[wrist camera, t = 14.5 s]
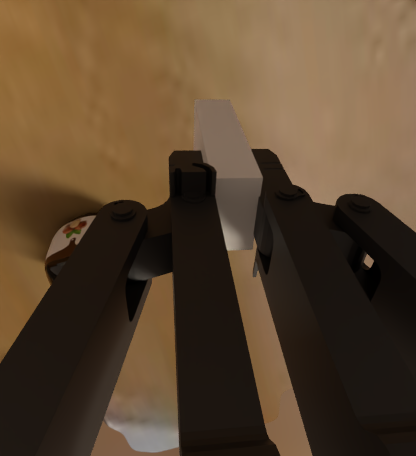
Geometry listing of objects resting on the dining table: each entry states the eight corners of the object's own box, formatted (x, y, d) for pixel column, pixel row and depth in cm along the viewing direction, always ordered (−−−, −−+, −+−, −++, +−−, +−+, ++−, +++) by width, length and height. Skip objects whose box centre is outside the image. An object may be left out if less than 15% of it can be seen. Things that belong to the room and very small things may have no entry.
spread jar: (126, 203, 47) (118, 267, 38) (149, 266, 54) (147, 332, 45) (34, 221, 47) (5, 288, 38) (69, 281, 54) (51, 350, 45)
